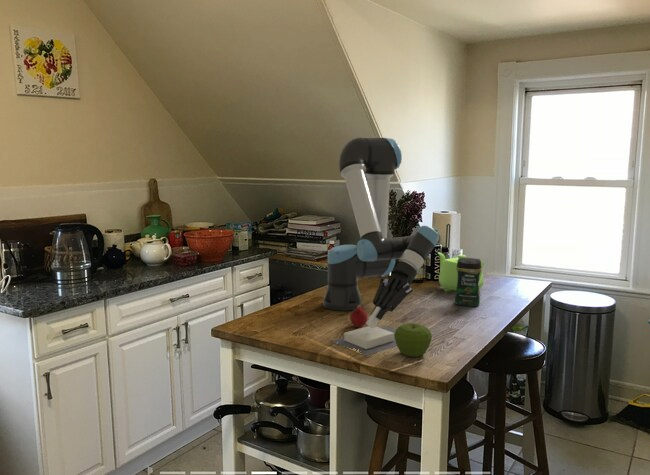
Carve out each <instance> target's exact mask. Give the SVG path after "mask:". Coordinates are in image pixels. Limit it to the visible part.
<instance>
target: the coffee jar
mask: <svg viewBox="0 0 650 475" xmlns="http://www.w3.org/2000/svg"><path fill="white" fill-rule="evenodd" d="M481 261H482V260H481V258H474V257H466V258H459V259H458V262H457V267H456V269H457V272H458V280H457V288H456V291H455V294H454V303H455V304H456V305H458V306H463V307H465V306H466V307H478V306H479V305H480V303H481V302H480V301H481V297H480V296H481V292H480V291H481V289H479V278H480V273H481V270H482V271H483V267H481Z"/></svg>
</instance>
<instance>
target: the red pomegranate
mask: <svg viewBox="0 0 650 475" xmlns="http://www.w3.org/2000/svg"><path fill="white" fill-rule="evenodd" d="M349 319H350V322H351V324H352V325H353V326H354V327H355V328H357V329H360V328H363V327H364V325H367V324H366V322H367V321H368V313H367V312H366V311H365V310H364V309H363V308H362V306H360V305H359V306H358V307H357V308H356V309H355V310H352V311H351V313H350V318H349Z"/></svg>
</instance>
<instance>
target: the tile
mask: <svg viewBox="0 0 650 475" xmlns="http://www.w3.org/2000/svg"><path fill="white" fill-rule="evenodd" d="M379 327H380V326H379ZM379 327H378V326H377V325H376V326H375V328H374V329H372V328H370V327H369V326H368V325H367V326H363V327H359V328H356V329H353V330H350V331H347V332H346V331H344V333H343V336H344V340H345V341H347V342H350V343H352V344H354V345H357V346H359V347H362V348H364V349H369V348H372V347H375V346H378V345H382V344H385V343H388V342H391V341H394V333H393V332H390V331H387V330H384V329H381V328H379Z"/></svg>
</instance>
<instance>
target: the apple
mask: <svg viewBox="0 0 650 475" xmlns="http://www.w3.org/2000/svg"><path fill="white" fill-rule="evenodd" d="M395 330H396V331H395V335H394V336H395V341H396V344H397V346H396V347H397V348H398V351H399V352H400V353H401V354H403V355H404V356H406V357H409V358H418V357H421V356H423V355H425V354H426V353H427V350H428V349H429V347H430V345H431V342H432V338H433V335H432V332H431V330H430V328H428V327H427V326H425V325H423V324H419V323H414V322H413V323H412V322H409V323H404V324H401V325H400V326H397V327H396V329H395Z"/></svg>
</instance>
